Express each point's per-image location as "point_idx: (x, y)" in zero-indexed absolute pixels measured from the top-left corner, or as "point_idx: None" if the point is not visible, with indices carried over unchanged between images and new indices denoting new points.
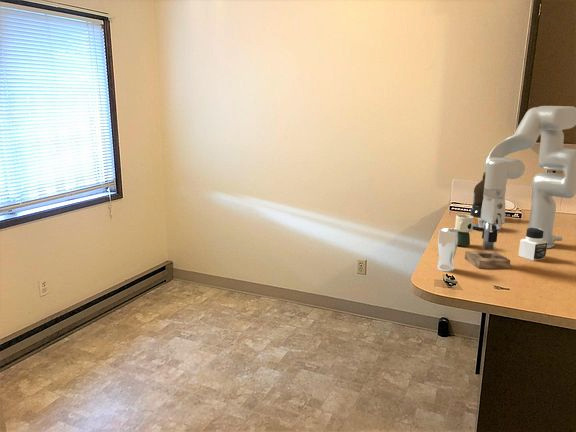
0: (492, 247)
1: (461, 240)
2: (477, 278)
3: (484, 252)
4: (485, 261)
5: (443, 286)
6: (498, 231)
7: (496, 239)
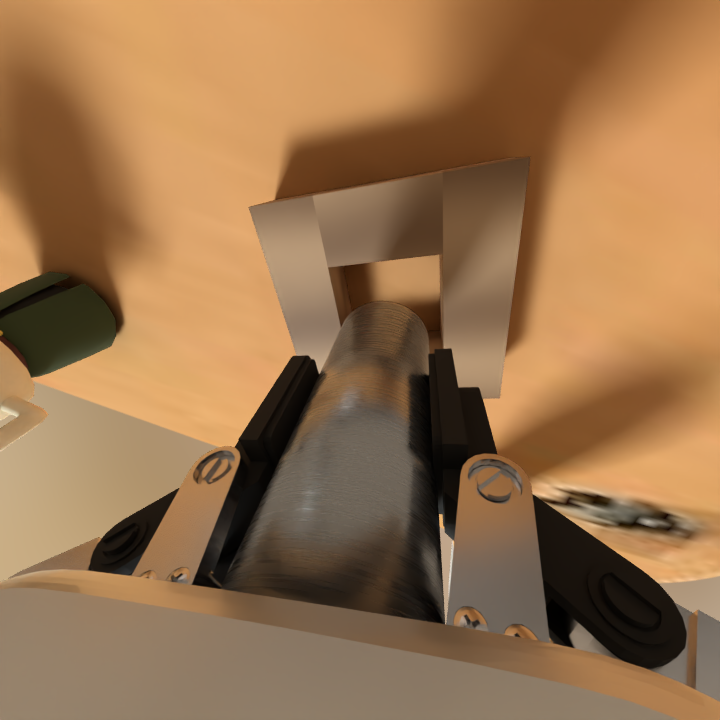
0: (426, 336)
1: (88, 344)
2: (640, 427)
3: (312, 304)
4: (502, 364)
5: (670, 544)
6: (525, 474)
7: (454, 367)
